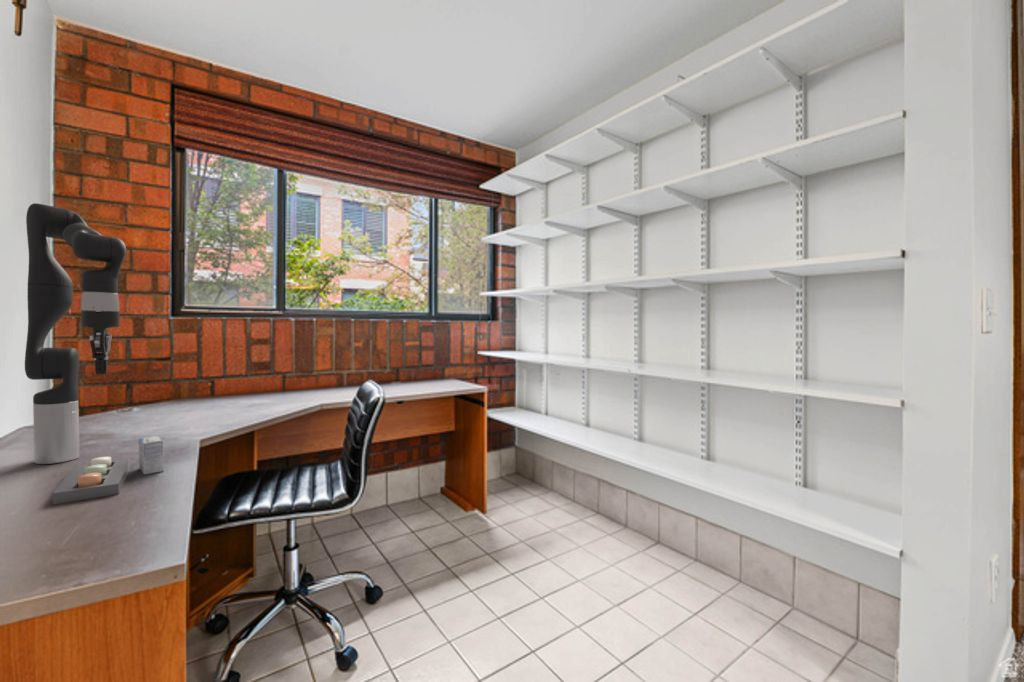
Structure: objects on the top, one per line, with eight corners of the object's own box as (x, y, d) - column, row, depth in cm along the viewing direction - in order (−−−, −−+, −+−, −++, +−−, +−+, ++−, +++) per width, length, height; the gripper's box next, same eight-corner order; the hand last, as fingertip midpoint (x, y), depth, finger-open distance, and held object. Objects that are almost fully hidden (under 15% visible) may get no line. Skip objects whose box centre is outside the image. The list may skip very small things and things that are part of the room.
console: (75, 474, 117) (75, 465, 117) (130, 467, 124) (130, 458, 124) (52, 504, 98) (52, 493, 98) (118, 494, 104) (118, 483, 104)
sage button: (86, 477, 111) (86, 465, 111) (107, 474, 113) (107, 463, 113) (83, 482, 108) (83, 470, 108) (105, 479, 110) (105, 467, 110)
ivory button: (92, 469, 118) (92, 458, 117) (112, 466, 120) (112, 455, 120) (89, 473, 114) (89, 461, 114) (110, 470, 117) (110, 459, 117)
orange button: (80, 487, 105) (79, 474, 105) (102, 483, 107) (102, 471, 107) (76, 492, 101) (76, 479, 101) (99, 488, 104) (99, 476, 104)
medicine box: (164, 471, 121) (163, 440, 120) (143, 475, 117) (142, 443, 117) (159, 465, 126) (158, 435, 126) (138, 468, 123) (138, 438, 123)
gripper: (86, 309, 121) (86, 372, 121) (75, 308, 110) (76, 377, 110) (122, 310, 125) (122, 371, 126) (115, 309, 114) (116, 375, 115)
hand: (101, 373), depth 118 cm, fingers closed
